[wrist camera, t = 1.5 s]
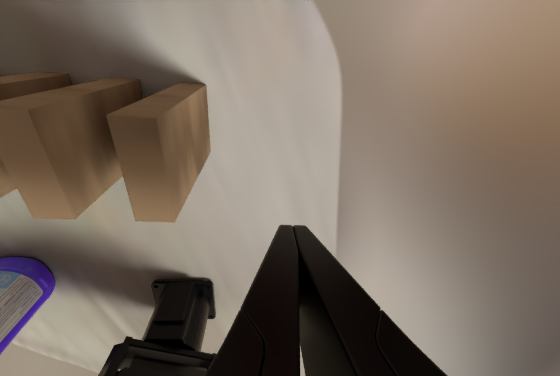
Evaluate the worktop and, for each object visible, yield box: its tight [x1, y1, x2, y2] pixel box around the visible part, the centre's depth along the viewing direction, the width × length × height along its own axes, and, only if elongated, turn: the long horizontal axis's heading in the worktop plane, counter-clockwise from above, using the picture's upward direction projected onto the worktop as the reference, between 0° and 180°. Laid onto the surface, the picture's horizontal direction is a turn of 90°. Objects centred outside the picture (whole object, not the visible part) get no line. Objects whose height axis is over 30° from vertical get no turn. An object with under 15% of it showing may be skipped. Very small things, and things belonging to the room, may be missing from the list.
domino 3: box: [106, 83, 211, 222], centre depth 14 cm, size 5×2×9 cm, turn 175°
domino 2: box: [0, 77, 143, 219], centre depth 14 cm, size 5×2×9 cm, turn 175°
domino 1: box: [0, 72, 72, 198], centre depth 13 cm, size 5×2×9 cm, turn 175°
